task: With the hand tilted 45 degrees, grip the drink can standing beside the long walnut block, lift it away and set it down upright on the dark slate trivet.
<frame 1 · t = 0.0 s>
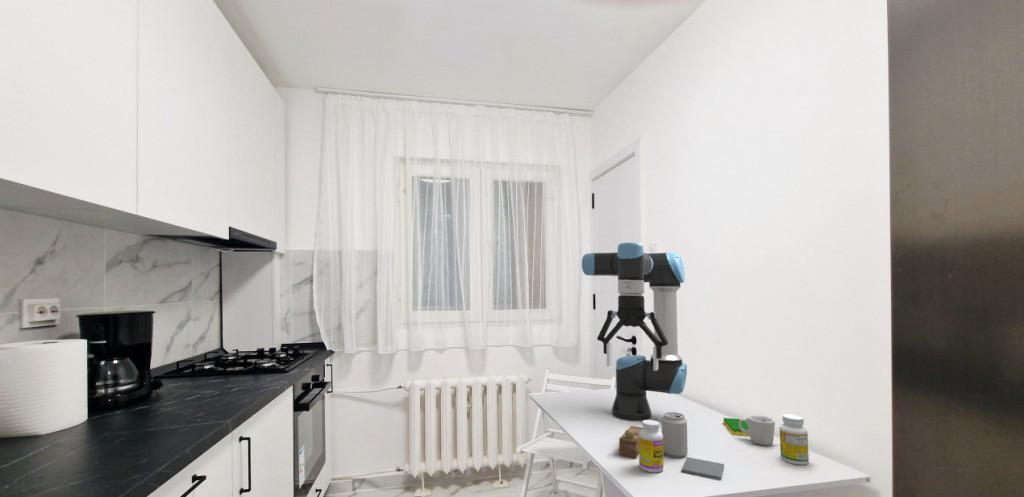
hand: (632, 367, 129), 28 cm above the table, tool pointing down, fingers open, 13 cm apart
can: (674, 454, 136), on the table
walnut block: (633, 449, 140), on the table
supplement bottle 2: (651, 469, 125), on the table
dish sponge: (738, 431, 160), on the table
supplement bottle: (794, 461, 132), on the table
cup: (757, 442, 147), on the table
trivet: (703, 469, 125), on the table
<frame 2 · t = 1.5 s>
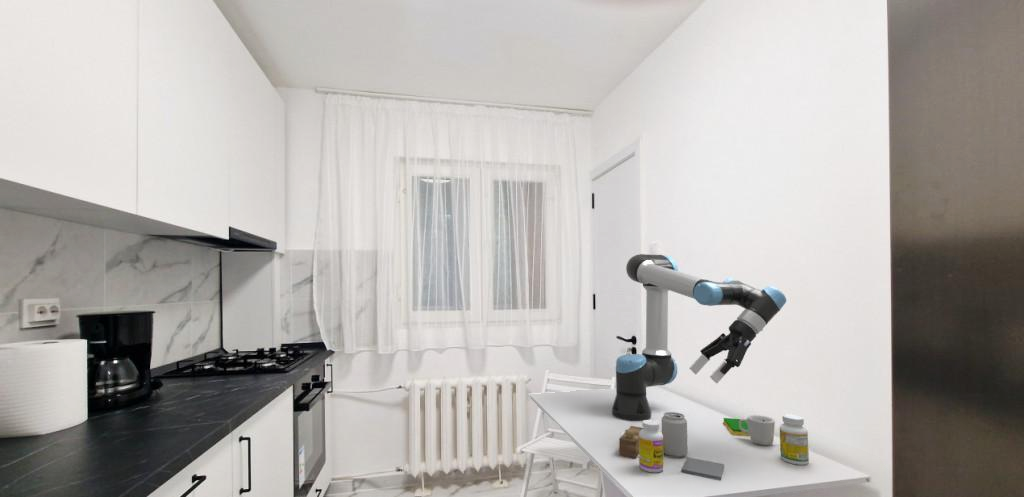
hand: (702, 375, 139), 24 cm above the table, tool tilted 45°, fingers open, 13 cm apart
nothing on the table moved.
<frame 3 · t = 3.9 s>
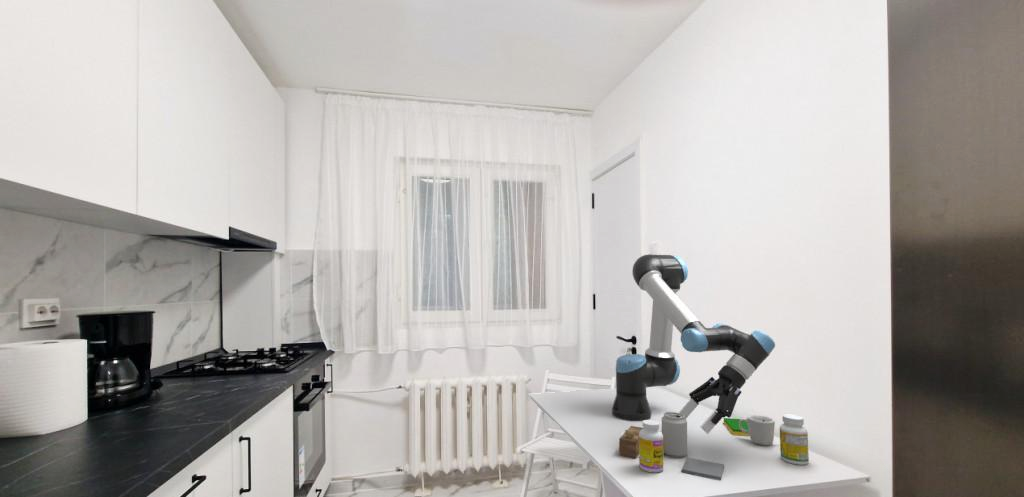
hand: (692, 423, 136), 10 cm above the table, tool tilted 45°, fingers open, 13 cm apart
nothing on the table moved.
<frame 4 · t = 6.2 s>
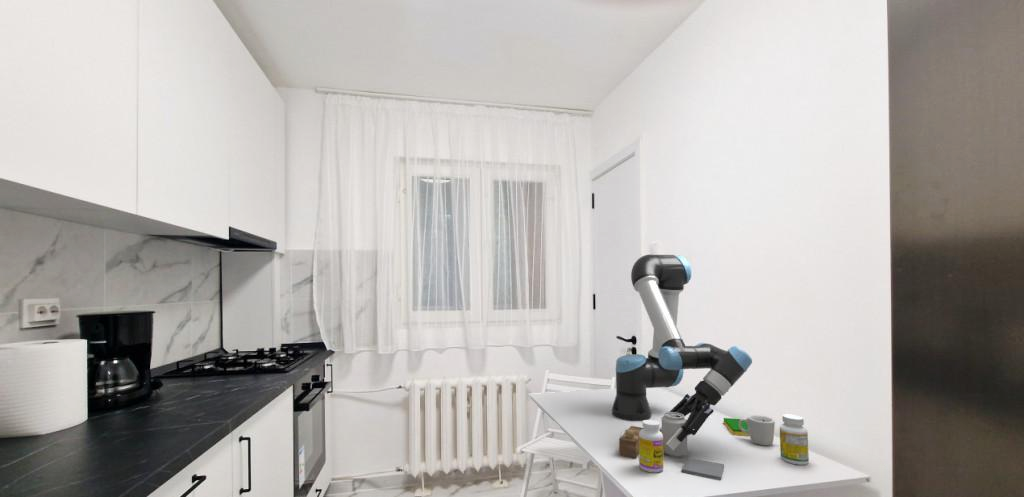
hand: (663, 442, 136), 4 cm above the table, tool tilted 45°, fingers closed on can, 7 cm apart
can: (674, 454, 136), on the table, touching gripper
everything else where it was.
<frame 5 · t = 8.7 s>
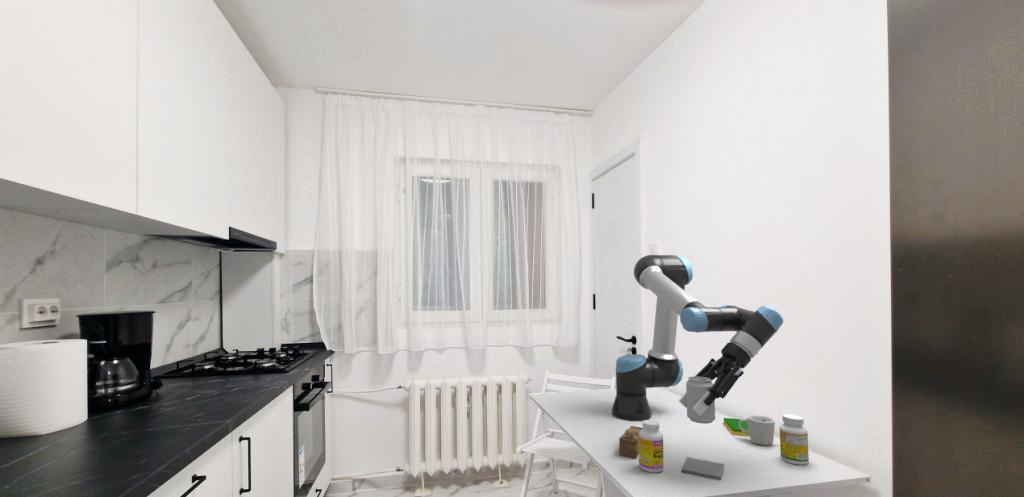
hand: (689, 407, 126), 17 cm above the table, tool tilted 45°, fingers closed on can, 7 cm apart
can: (701, 421, 126), point 13 cm above the table, touching gripper
everything else where it was.
when the fingers open (6 cm above the table, at t = 11.2 s): can drops 1 cm, resting on trivet.
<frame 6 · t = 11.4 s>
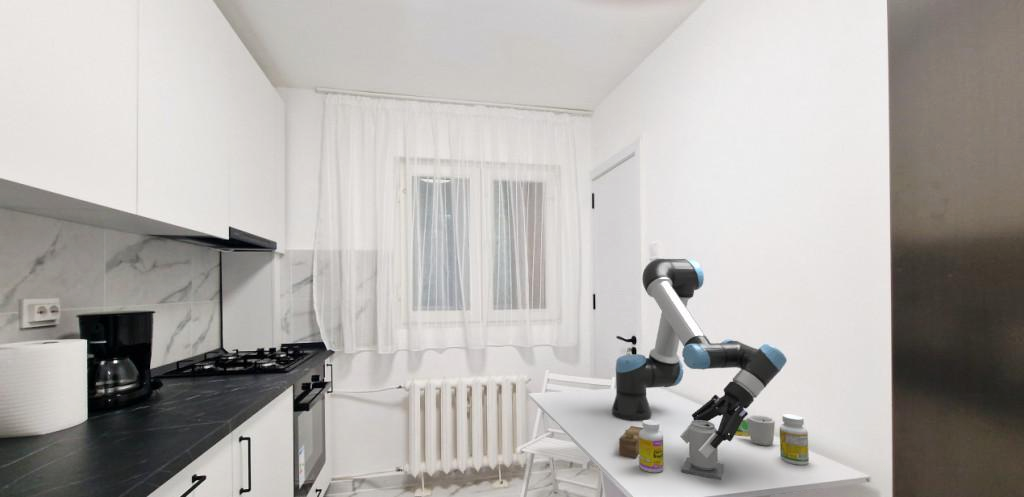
hand: (692, 446, 125), 6 cm above the table, tool tilted 45°, fingers open, 10 cm apart
can: (703, 466, 125), point 1 cm above the table, touching trivet
everything else where it was.
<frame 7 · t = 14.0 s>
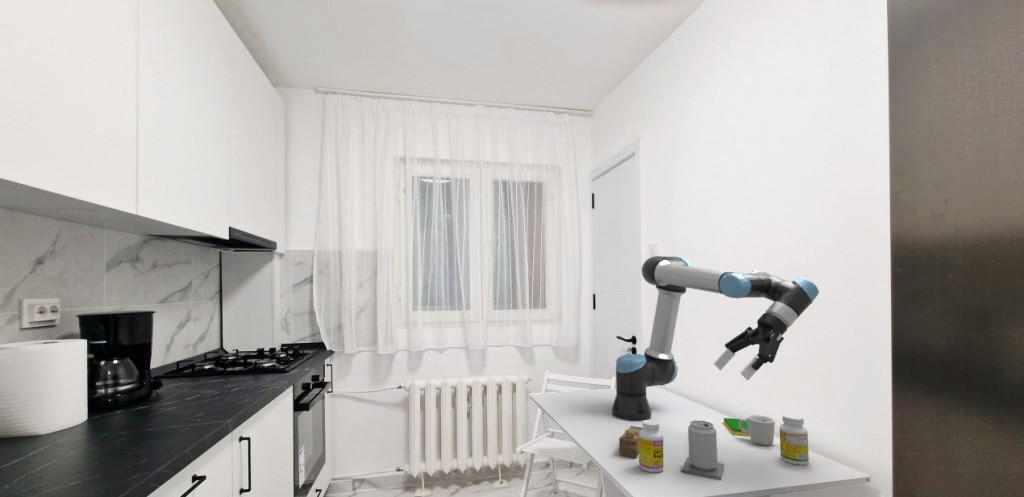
hand: (729, 371, 130), 27 cm above the table, tool tilted 45°, fingers open, 13 cm apart
nothing on the table moved.
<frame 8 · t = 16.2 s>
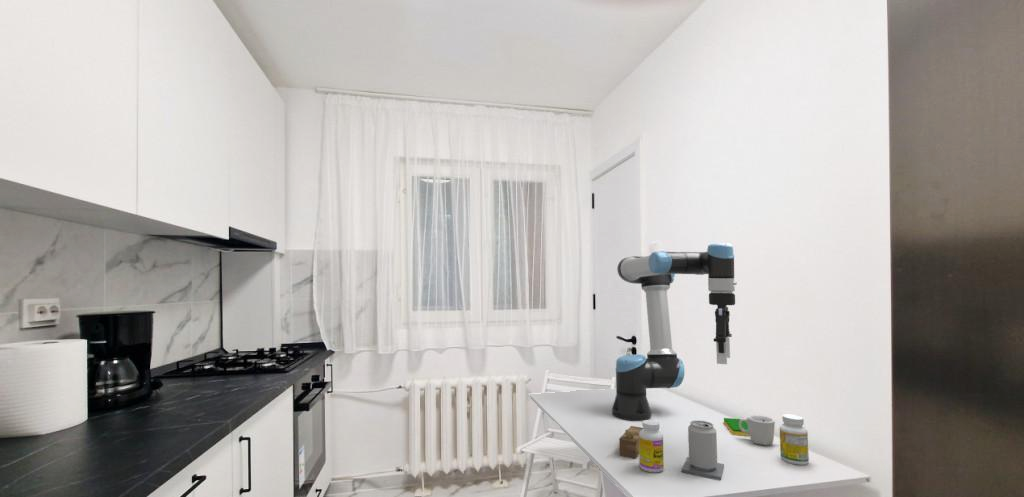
hand: (723, 360, 138), 29 cm above the table, tool pointing down, fingers open, 13 cm apart
nothing on the table moved.
at the end: can inside the target area on the trivet (0.1 cm from its centre), point 0.6 cm above the trivet's base; can tilted 0°; the gripper is holding nothing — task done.
